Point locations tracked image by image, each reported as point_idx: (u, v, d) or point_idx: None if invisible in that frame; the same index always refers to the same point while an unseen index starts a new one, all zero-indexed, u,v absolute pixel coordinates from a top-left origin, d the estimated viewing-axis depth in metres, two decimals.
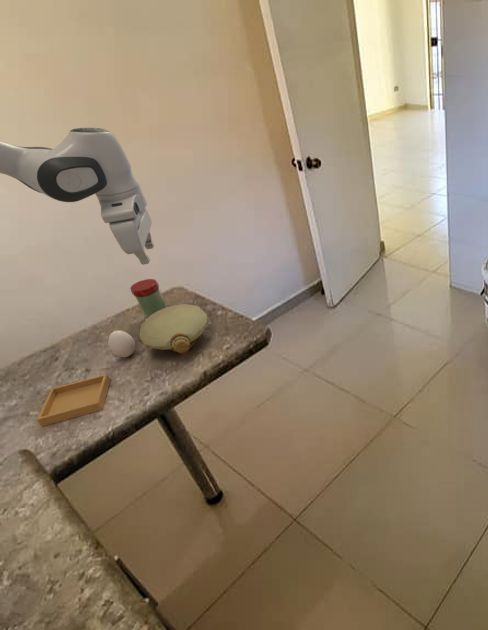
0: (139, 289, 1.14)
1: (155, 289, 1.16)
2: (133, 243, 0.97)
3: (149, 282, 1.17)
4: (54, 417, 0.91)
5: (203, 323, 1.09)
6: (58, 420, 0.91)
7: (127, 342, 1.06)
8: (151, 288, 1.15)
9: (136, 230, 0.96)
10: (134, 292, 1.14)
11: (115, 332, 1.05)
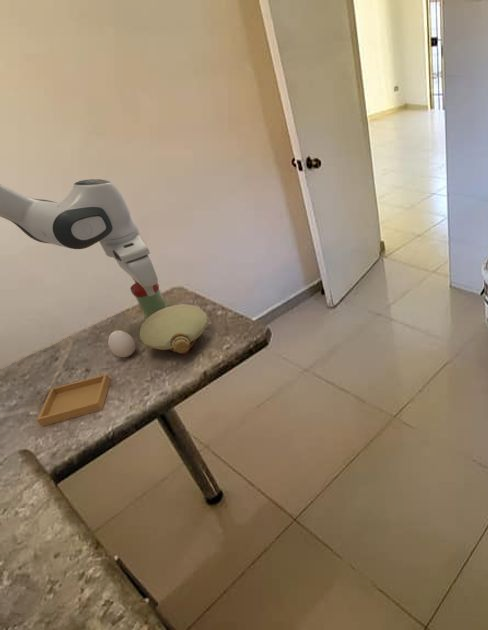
0: (139, 289, 1.14)
1: (155, 289, 1.16)
2: (151, 277, 1.08)
3: None
4: (54, 417, 0.91)
5: (203, 323, 1.09)
6: (58, 420, 0.91)
7: (127, 342, 1.06)
8: None
9: (152, 265, 1.08)
10: (134, 292, 1.14)
11: (115, 332, 1.05)
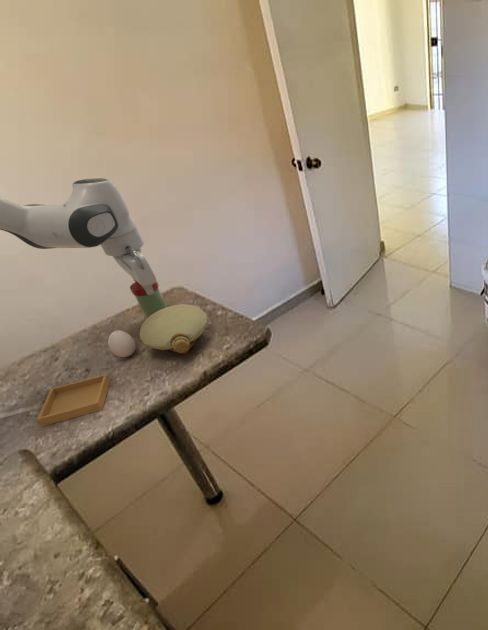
0: None
1: None
2: None
3: (136, 286, 1.16)
4: (54, 417, 0.91)
5: (203, 323, 1.09)
6: (58, 420, 0.91)
7: (127, 342, 1.06)
8: None
9: None
10: None
11: (115, 332, 1.05)
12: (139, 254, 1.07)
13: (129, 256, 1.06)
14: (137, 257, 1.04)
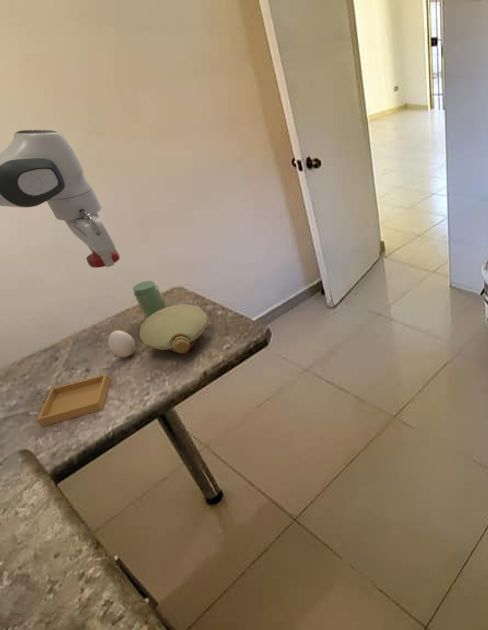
0: None
1: None
2: None
3: (94, 257, 1.03)
4: (54, 417, 0.91)
5: (203, 323, 1.09)
6: (58, 420, 0.91)
7: (127, 342, 1.06)
8: None
9: None
10: None
11: (115, 332, 1.05)
12: (95, 218, 0.95)
13: (83, 220, 0.94)
14: (92, 221, 0.92)
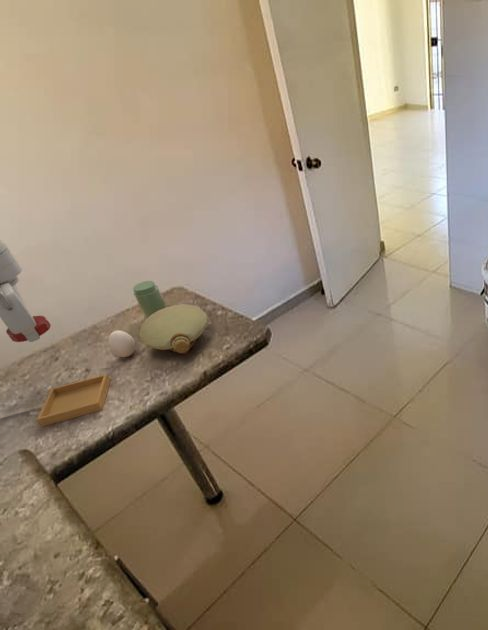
0: (34, 317, 0.87)
1: None
2: None
3: None
4: (54, 417, 0.91)
5: (203, 323, 1.09)
6: (58, 420, 0.91)
7: (127, 342, 1.06)
8: None
9: None
10: None
11: (115, 332, 1.05)
12: (7, 288, 0.75)
13: None
14: None
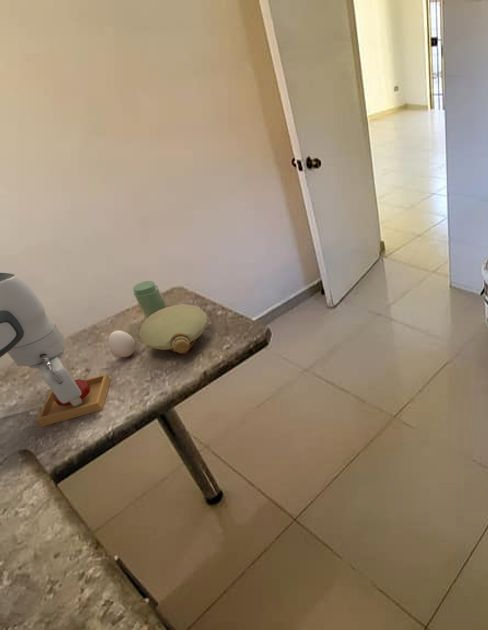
0: (75, 381, 0.96)
1: None
2: None
3: None
4: (54, 417, 0.91)
5: (203, 323, 1.09)
6: (58, 420, 0.91)
7: (127, 342, 1.06)
8: None
9: None
10: None
11: (115, 332, 1.05)
12: (57, 364, 0.84)
13: (44, 367, 0.84)
14: (52, 371, 0.82)
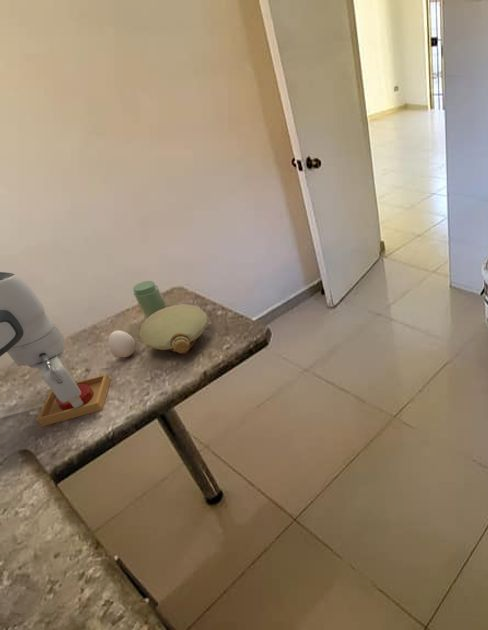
0: (79, 386, 0.97)
1: None
2: None
3: None
4: (54, 417, 0.91)
5: (203, 323, 1.09)
6: (58, 420, 0.91)
7: (127, 342, 1.06)
8: None
9: None
10: None
11: (115, 332, 1.05)
12: (57, 363, 0.84)
13: (43, 367, 0.84)
14: (51, 371, 0.82)
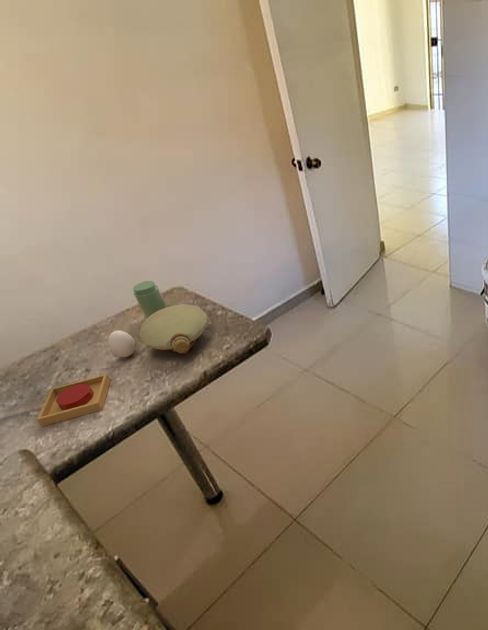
0: (79, 386, 0.97)
1: None
2: None
3: (64, 398, 0.94)
4: (54, 417, 0.91)
5: (203, 323, 1.09)
6: (58, 420, 0.91)
7: (127, 342, 1.06)
8: None
9: None
10: None
11: (115, 332, 1.05)
12: None
13: None
14: None
